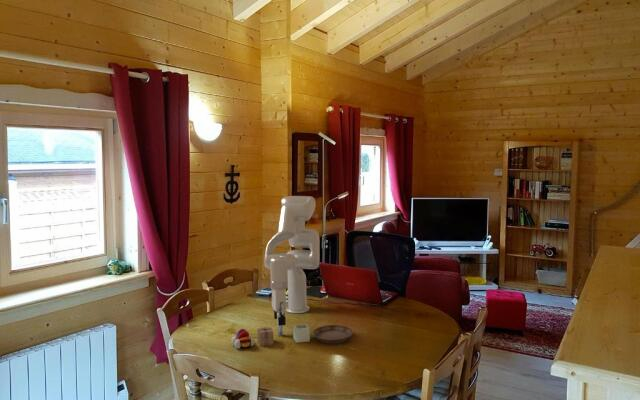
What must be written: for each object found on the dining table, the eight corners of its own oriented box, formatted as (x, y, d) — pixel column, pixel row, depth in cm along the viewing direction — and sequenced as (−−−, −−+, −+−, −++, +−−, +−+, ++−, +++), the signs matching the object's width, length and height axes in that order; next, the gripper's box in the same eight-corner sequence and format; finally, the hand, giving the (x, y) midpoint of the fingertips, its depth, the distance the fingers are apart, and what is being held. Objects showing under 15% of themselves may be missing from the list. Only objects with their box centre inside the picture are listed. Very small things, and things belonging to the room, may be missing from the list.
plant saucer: (322, 348, 224) (322, 341, 224) (307, 334, 240) (307, 328, 240) (359, 341, 231) (359, 334, 231) (342, 328, 247) (342, 322, 247)
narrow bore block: (257, 341, 232) (257, 328, 232) (270, 339, 234) (270, 326, 233) (259, 346, 227) (259, 332, 226) (273, 344, 228) (273, 331, 227)
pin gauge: (276, 334, 240) (275, 308, 239) (282, 333, 241) (282, 307, 240) (277, 336, 237) (276, 310, 236) (284, 336, 238) (283, 309, 237)
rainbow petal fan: (237, 351, 221) (236, 334, 221) (230, 343, 230) (229, 327, 229) (256, 347, 225) (255, 331, 225) (248, 340, 234) (248, 324, 233)
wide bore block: (293, 337, 236) (293, 324, 235) (306, 336, 237) (306, 323, 237) (296, 342, 230) (296, 329, 229) (309, 341, 232) (309, 327, 231)
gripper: (267, 280, 244) (268, 316, 246) (274, 290, 227) (275, 329, 229) (283, 279, 246) (283, 315, 248) (291, 288, 229) (292, 327, 231)
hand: (279, 321), depth 238 cm, fingers open, 8 cm apart
